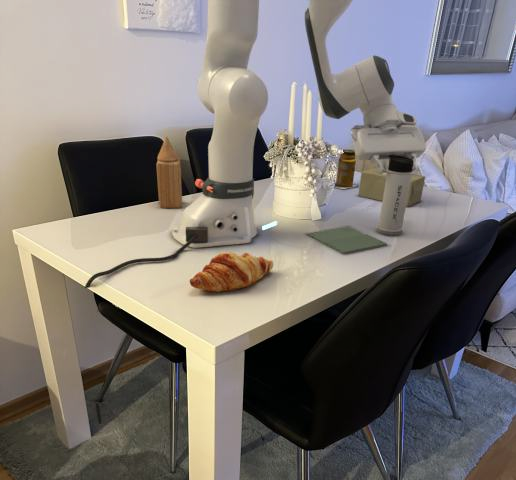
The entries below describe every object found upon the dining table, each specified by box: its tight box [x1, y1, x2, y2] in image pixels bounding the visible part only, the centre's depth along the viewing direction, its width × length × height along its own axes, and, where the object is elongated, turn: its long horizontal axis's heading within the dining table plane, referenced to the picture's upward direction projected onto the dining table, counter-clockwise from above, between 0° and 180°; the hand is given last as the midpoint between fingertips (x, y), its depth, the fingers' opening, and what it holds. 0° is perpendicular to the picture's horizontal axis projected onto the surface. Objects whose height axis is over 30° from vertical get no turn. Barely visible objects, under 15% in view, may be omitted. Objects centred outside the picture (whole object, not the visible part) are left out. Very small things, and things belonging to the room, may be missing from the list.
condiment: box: [333, 149, 358, 190], centre depth 179 cm, size 7×8×12 cm
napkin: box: [306, 226, 388, 255], centre depth 133 cm, size 14×16×1 cm
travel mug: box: [377, 154, 414, 237], centre depth 134 cm, size 6×7×20 cm
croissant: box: [189, 252, 274, 293], centre depth 106 cm, size 21×10×8 cm, turn 129°
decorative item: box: [156, 136, 183, 209], centre depth 149 cm, size 7×7×20 cm
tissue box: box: [358, 159, 426, 208], centre depth 165 cm, size 19×10×16 cm, turn 51°
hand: (397, 171), depth 131 cm, fingers open, 8 cm apart
